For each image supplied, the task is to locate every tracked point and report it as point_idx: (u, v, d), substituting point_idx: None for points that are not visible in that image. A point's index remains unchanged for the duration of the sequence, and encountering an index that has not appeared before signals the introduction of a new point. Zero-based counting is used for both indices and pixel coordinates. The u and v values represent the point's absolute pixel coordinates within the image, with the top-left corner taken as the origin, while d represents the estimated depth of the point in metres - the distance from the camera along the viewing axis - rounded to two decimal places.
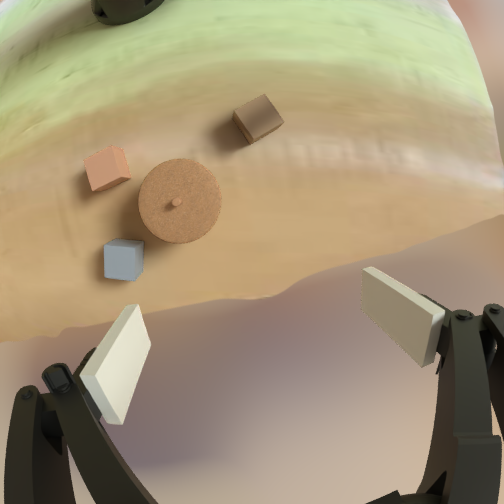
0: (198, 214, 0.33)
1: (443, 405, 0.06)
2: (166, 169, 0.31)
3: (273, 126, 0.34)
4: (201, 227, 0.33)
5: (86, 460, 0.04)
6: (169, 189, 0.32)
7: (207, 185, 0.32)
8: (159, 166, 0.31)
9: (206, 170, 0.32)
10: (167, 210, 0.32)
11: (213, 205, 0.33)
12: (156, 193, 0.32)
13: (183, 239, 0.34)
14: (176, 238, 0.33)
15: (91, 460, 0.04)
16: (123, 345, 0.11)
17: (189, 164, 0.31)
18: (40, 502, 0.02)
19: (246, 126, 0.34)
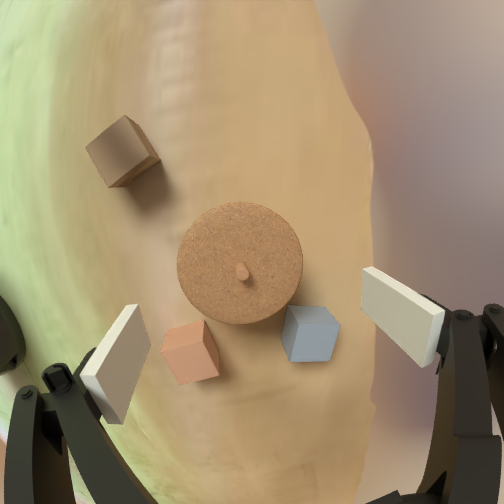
0: (261, 238, 0.22)
1: (443, 405, 0.06)
2: (192, 285, 0.22)
3: (131, 129, 0.21)
4: (282, 234, 0.22)
5: (86, 460, 0.04)
6: (222, 281, 0.22)
7: (218, 224, 0.21)
8: (188, 295, 0.23)
9: (194, 225, 0.21)
10: (253, 284, 0.23)
11: (249, 215, 0.22)
12: (227, 300, 0.23)
13: (297, 261, 0.23)
14: (295, 272, 0.23)
15: (91, 460, 0.04)
16: (123, 344, 0.11)
17: (185, 251, 0.22)
18: (40, 502, 0.02)
19: (130, 167, 0.22)
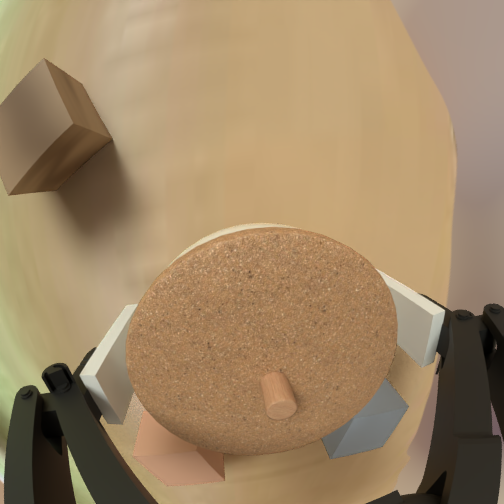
0: (327, 319, 0.08)
1: (443, 405, 0.06)
2: (166, 409, 0.09)
3: (48, 79, 0.08)
4: (371, 304, 0.09)
5: (86, 460, 0.04)
6: (229, 406, 0.09)
7: (216, 289, 0.08)
8: (160, 421, 0.09)
9: (156, 291, 0.08)
10: (298, 404, 0.09)
11: (302, 263, 0.08)
12: (240, 431, 0.09)
13: (388, 352, 0.09)
14: (381, 371, 0.10)
15: (91, 460, 0.04)
16: (123, 345, 0.11)
17: (140, 349, 0.08)
18: (40, 502, 0.02)
19: (40, 152, 0.09)
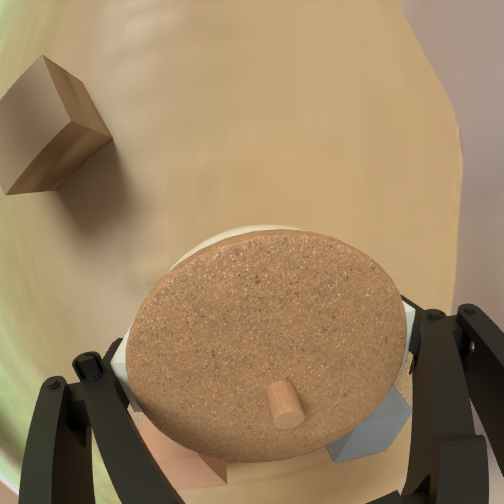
0: (336, 325, 0.08)
1: (420, 406, 0.06)
2: (168, 418, 0.08)
3: (46, 76, 0.07)
4: (381, 310, 0.08)
5: (111, 449, 0.05)
6: (234, 414, 0.09)
7: (221, 295, 0.07)
8: (161, 430, 0.09)
9: (157, 297, 0.07)
10: (304, 412, 0.09)
11: (311, 268, 0.08)
12: (245, 439, 0.09)
13: (397, 358, 0.09)
14: (389, 377, 0.09)
15: (117, 450, 0.05)
16: None
17: (140, 357, 0.08)
18: (58, 495, 0.03)
19: (37, 151, 0.08)
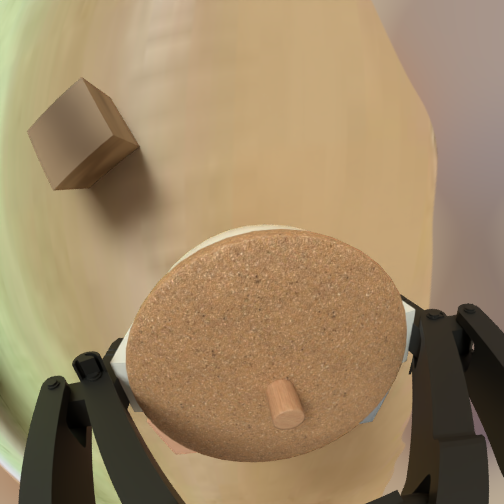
0: (336, 325, 0.08)
1: (420, 406, 0.06)
2: (168, 417, 0.08)
3: (88, 96, 0.11)
4: (381, 309, 0.08)
5: (111, 449, 0.05)
6: (234, 414, 0.09)
7: (221, 294, 0.07)
8: (162, 429, 0.09)
9: (157, 297, 0.07)
10: (304, 412, 0.09)
11: (311, 268, 0.08)
12: (245, 438, 0.09)
13: (397, 358, 0.09)
14: (389, 376, 0.09)
15: (117, 449, 0.05)
16: None
17: (141, 357, 0.08)
18: (58, 495, 0.03)
19: (84, 156, 0.12)
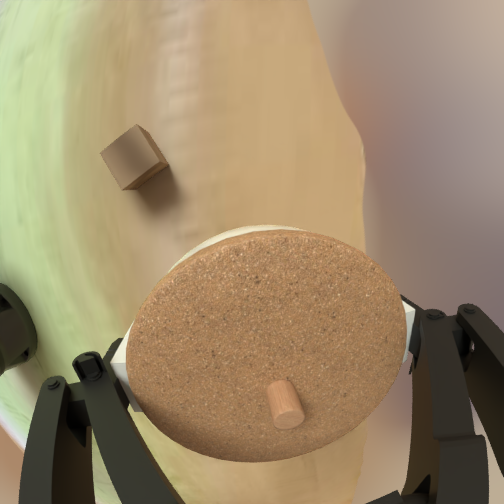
0: (336, 326, 0.08)
1: (420, 406, 0.06)
2: (168, 417, 0.08)
3: (142, 137, 0.24)
4: (381, 310, 0.08)
5: (111, 449, 0.05)
6: (234, 414, 0.09)
7: (221, 294, 0.07)
8: (162, 429, 0.09)
9: (157, 297, 0.07)
10: (304, 412, 0.09)
11: (311, 268, 0.08)
12: (245, 439, 0.09)
13: (397, 358, 0.09)
14: (389, 376, 0.09)
15: (117, 449, 0.05)
16: None
17: (141, 357, 0.08)
18: (58, 495, 0.03)
19: (142, 172, 0.25)
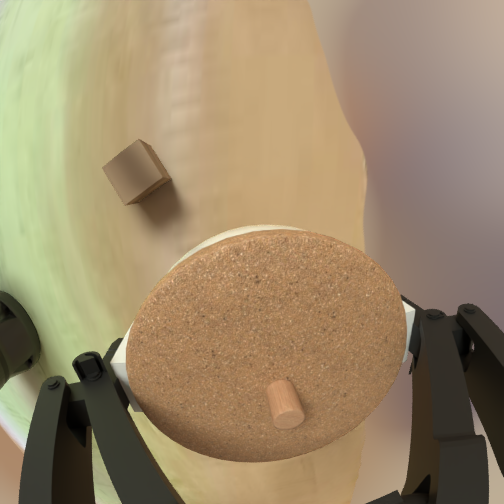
0: (336, 326, 0.08)
1: (419, 406, 0.06)
2: (168, 417, 0.08)
3: (144, 152, 0.25)
4: (381, 309, 0.08)
5: (112, 449, 0.05)
6: (234, 414, 0.09)
7: (221, 294, 0.07)
8: (162, 429, 0.09)
9: (157, 297, 0.07)
10: (304, 412, 0.09)
11: (311, 268, 0.08)
12: (245, 439, 0.09)
13: (397, 358, 0.09)
14: (389, 376, 0.09)
15: (117, 449, 0.05)
16: None
17: (141, 357, 0.08)
18: (58, 495, 0.03)
19: (145, 188, 0.26)
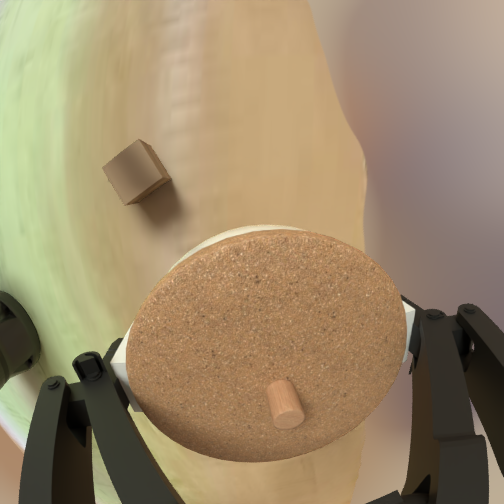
0: (336, 326, 0.08)
1: (419, 406, 0.06)
2: (168, 417, 0.08)
3: (144, 152, 0.25)
4: (381, 309, 0.08)
5: (112, 449, 0.05)
6: (234, 414, 0.09)
7: (221, 294, 0.07)
8: (162, 429, 0.09)
9: (157, 297, 0.07)
10: (304, 412, 0.09)
11: (311, 268, 0.08)
12: (245, 439, 0.09)
13: (397, 358, 0.09)
14: (389, 376, 0.09)
15: (117, 449, 0.05)
16: None
17: (141, 357, 0.08)
18: (58, 495, 0.03)
19: (145, 188, 0.26)
